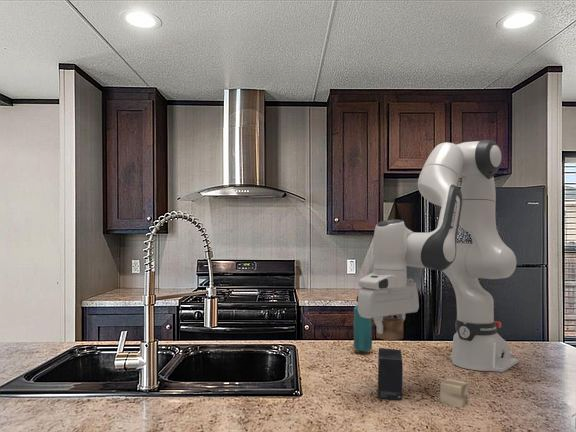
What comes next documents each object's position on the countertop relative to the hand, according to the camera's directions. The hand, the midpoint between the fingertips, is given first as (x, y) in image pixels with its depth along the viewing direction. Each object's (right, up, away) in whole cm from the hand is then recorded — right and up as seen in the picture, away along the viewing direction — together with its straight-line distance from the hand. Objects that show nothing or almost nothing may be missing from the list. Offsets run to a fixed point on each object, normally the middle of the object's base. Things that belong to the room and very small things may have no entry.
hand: (389, 331), depth 122 cm
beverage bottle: (-1, -18, +39) cm, 43 cm away
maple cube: (+15, -16, -7) cm, 23 cm away
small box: (0, -16, 0) cm, 16 cm away
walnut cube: (0, -2, 0) cm, 2 cm away
